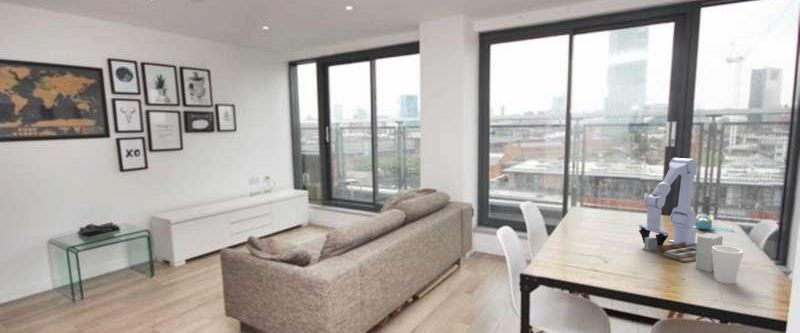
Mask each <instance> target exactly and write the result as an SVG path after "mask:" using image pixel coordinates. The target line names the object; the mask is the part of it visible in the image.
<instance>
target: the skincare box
mask: <svg viewBox="0 0 800 333" xmlns="http://www.w3.org/2000/svg"><path fill="white" fill-rule="evenodd" d="M723 236H724V235H720V234H715V233H712V232H706V233H703V234H700V235H698V236H697V240H696V242H697V244H696V248H697V251H696V261H695V264H694V265H695V266H694V268H695V269H698V270H700V271H704V272H707V273H712V272H714V266H713V256H712V247H713V246H716V245H723V238H724V237H723Z"/></svg>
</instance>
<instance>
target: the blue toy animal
mask: <svg viewBox="0 0 800 333" xmlns="http://www.w3.org/2000/svg"><path fill="white" fill-rule="evenodd" d="M712 221H713V220H712V219H711V216H709V215H707V214H706V213H700V214H696V224H695V225H694V226H693V227H694V228H695V229H700V230H702V229H703V230H707V231H708V230H709V231H718V232H727V233H728V232H729V233H734V234H735V230H734V229H730V228H725V227H721V226H720V227H718V226H713V224H712V223H713V222H712Z"/></svg>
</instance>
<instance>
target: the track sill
mask: <svg viewBox="0 0 800 333" xmlns="http://www.w3.org/2000/svg"><path fill="white" fill-rule="evenodd" d="M696 251H697V247H693V246H688V247H687V245H686V242H679V243H673V242H672V243H668V244H663V245H660V246H657V249H656V254H657V255H660V256H663V257H666V258H669V259H672V260H674V261H676V262H680V263H683V264H684V263H689V262H690V263H691V262H696Z"/></svg>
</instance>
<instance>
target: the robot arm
mask: <svg viewBox="0 0 800 333" xmlns="http://www.w3.org/2000/svg"><path fill="white" fill-rule="evenodd" d="M668 168H669V169H668V171H667V173H666V175H665V177H664V179H663V180H662V182H659V183H658V184H657V185H656V187H655V188H654V190H653V191H652V193H651V194H649V195H647V196H646V197H645V200H644V204H645V206H646V211H647V214H646V224H639V225H638V228H639V230H638V232H639V234H640V236H641V238H642V241H643V245H645V238H646V237H650V234H651V232H652V233H656V234H655V236H656V238H657V246H660V245H664V244H665V242H666V240H667V238H668V237H669V233H670V232H669V231H668V230H666V229H664V228H661V225H662V224H661V223H662V222H661V220H662V208H663V207H664V206H665V203H666V200H667V198H666V197H667V196H668V194H669V193H670V192H671V190H672V188H671V185H672V184H673V182H674V181H675V180H676V179H677V178H678V177H679V175H680V177H681V179H680V185H679V186H680V187H679V193H678V200H677V201H678V202H677V206H676V207H674V208H672V211H671V214H670V215H669V220H670V222H671V223H672V225H673V235H672V238H673V239H669V240H668V242H671V243H672V244H673V243H679V242H686V246H691V245H697V241H696V233H697V230H696V228H694V227H693V226H694V225H695V224H696V217H697V214H696V211H695V210H693V209H692V208H691V205H692V198H693V197H692V196H693V190H694V183H695V182H694V181H695V176H696V175H697V170H698V162H697V160H695V159H694V158H682V157H681V158H680V157H673V158H671V160H670V162H669V164H668Z"/></svg>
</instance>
